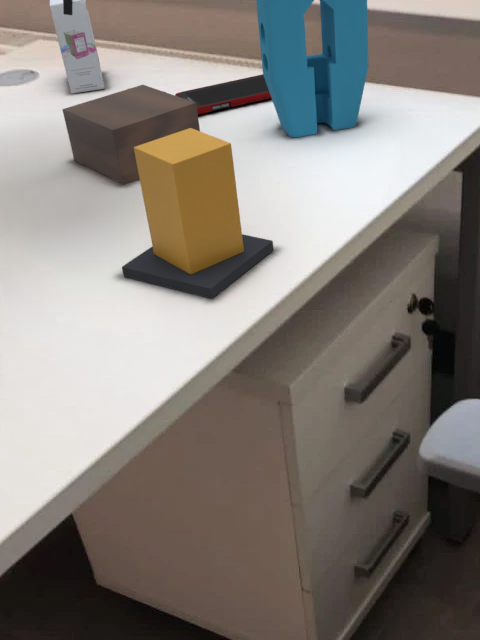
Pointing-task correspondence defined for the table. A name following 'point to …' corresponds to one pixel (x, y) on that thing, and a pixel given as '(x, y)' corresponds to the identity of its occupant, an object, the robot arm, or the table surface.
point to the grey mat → (202, 281)
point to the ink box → (77, 46)
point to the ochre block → (190, 199)
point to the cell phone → (228, 94)
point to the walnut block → (124, 128)
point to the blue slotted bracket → (314, 63)
